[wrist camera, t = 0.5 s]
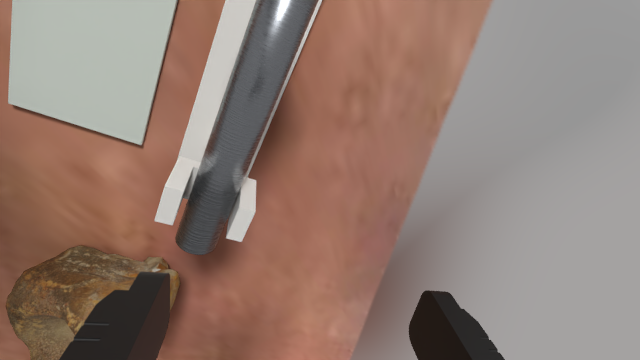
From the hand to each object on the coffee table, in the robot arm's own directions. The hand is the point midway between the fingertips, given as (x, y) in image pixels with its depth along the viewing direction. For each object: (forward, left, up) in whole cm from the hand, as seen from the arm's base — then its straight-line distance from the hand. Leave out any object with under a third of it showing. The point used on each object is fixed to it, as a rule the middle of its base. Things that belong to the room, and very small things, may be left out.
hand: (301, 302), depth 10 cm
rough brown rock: (-11, -34, -29) cm, 46 cm away
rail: (-3, +2, -16) cm, 16 cm away
